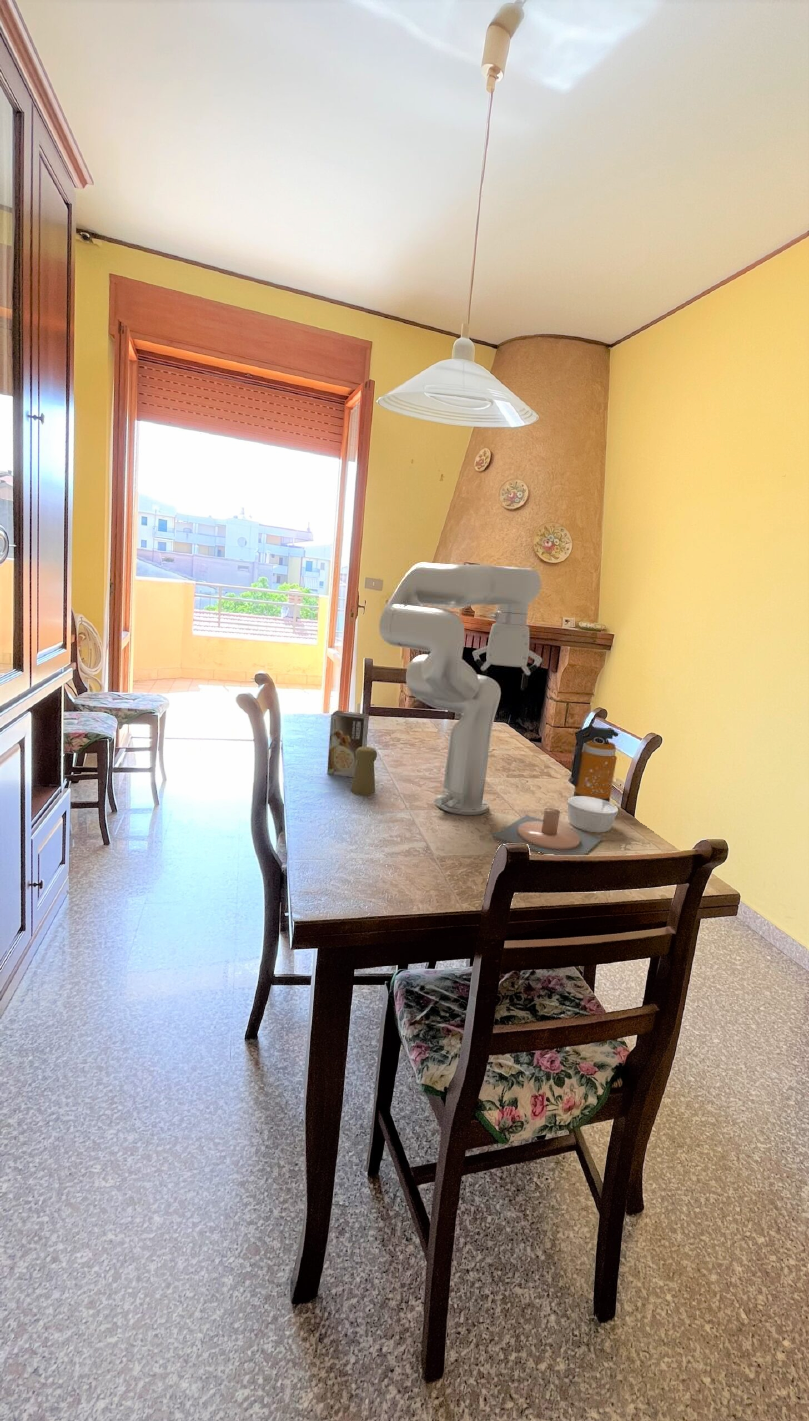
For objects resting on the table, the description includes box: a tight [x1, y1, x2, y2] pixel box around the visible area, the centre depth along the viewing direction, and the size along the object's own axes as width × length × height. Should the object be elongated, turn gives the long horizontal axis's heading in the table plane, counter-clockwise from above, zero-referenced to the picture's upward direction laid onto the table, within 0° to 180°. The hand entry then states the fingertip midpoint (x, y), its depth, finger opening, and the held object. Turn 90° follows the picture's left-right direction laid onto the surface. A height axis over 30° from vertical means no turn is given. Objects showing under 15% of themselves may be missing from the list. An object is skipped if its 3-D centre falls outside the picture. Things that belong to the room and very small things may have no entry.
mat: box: [491, 814, 604, 856], centre depth 134 cm, size 18×18×1 cm
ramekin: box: [566, 795, 619, 834], centre depth 145 cm, size 11×11×5 cm
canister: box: [567, 724, 619, 802], centre depth 161 cm, size 9×11×20 cm
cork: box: [350, 746, 378, 796], centre depth 152 cm, size 6×6×11 cm
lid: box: [518, 807, 580, 850], centre depth 134 cm, size 13×13×6 cm
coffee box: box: [326, 710, 370, 778], centre depth 164 cm, size 9×6×16 cm
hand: (503, 687), depth 159 cm, fingers open, 9 cm apart
